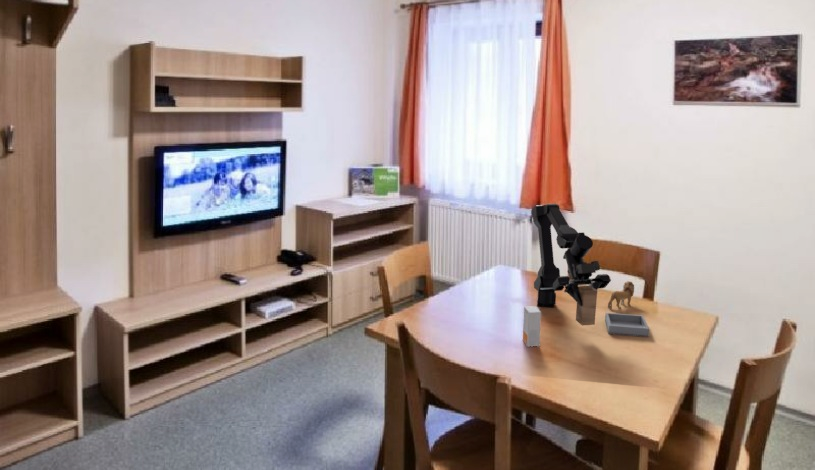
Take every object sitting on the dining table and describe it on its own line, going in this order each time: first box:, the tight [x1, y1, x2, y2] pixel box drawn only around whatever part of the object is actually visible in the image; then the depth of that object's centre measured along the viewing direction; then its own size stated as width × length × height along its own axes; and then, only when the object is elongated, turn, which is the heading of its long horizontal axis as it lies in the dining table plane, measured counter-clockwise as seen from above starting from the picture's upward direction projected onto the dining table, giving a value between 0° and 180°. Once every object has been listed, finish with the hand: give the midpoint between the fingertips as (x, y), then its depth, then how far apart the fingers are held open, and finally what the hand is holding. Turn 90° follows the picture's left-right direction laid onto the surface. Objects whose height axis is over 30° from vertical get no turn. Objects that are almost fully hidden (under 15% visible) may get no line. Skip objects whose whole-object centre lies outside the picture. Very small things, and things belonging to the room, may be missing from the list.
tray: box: [604, 312, 650, 338], centre depth 216 cm, size 13×13×3 cm
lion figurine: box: [607, 280, 635, 310], centre depth 238 cm, size 15×5×9 cm, turn 132°
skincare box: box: [522, 305, 542, 348], centre depth 202 cm, size 6×4×12 cm
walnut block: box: [575, 285, 598, 326], centre depth 206 cm, size 5×4×12 cm
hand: (588, 305), depth 205 cm, fingers closed on walnut block, 4 cm apart
